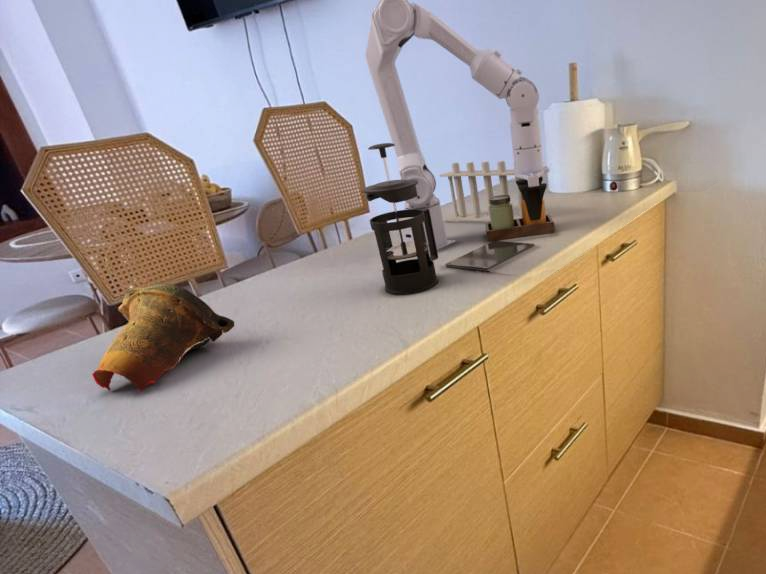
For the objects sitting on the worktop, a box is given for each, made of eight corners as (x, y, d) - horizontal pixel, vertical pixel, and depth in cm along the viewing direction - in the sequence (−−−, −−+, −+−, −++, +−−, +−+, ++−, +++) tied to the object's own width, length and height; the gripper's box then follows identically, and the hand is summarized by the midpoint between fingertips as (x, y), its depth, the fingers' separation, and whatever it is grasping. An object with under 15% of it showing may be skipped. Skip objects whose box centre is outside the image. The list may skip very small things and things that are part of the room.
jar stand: (487, 244, 114) (486, 231, 113) (486, 235, 120) (485, 223, 119) (555, 235, 114) (554, 221, 113) (550, 226, 120) (549, 214, 119)
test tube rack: (447, 221, 137) (437, 165, 131) (458, 216, 140) (449, 161, 134) (532, 224, 124) (526, 162, 118) (542, 219, 127) (536, 158, 121)
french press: (405, 299, 90) (371, 149, 79) (371, 291, 96) (334, 150, 85) (456, 276, 98) (431, 136, 87) (421, 270, 104) (394, 138, 92)
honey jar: (538, 234, 114) (534, 195, 110) (519, 233, 117) (515, 195, 113) (551, 228, 117) (548, 190, 113) (532, 227, 120) (528, 189, 116)
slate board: (487, 272, 98) (487, 268, 97) (446, 267, 103) (445, 263, 103) (534, 247, 108) (534, 243, 107) (494, 244, 113) (494, 240, 113)
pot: (24, 341, 67) (116, 253, 79) (67, 397, 76) (145, 310, 87) (163, 373, 67) (235, 280, 79) (190, 425, 76) (251, 335, 88)
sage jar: (506, 239, 114) (501, 200, 110) (488, 237, 117) (482, 199, 113) (520, 232, 117) (515, 194, 113) (501, 231, 120) (497, 194, 116)
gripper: (551, 148, 103) (557, 222, 109) (542, 140, 115) (548, 207, 122) (514, 153, 103) (522, 227, 109) (509, 145, 115) (516, 211, 122)
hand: (534, 216), depth 116 cm, fingers closed on honey jar, 5 cm apart
